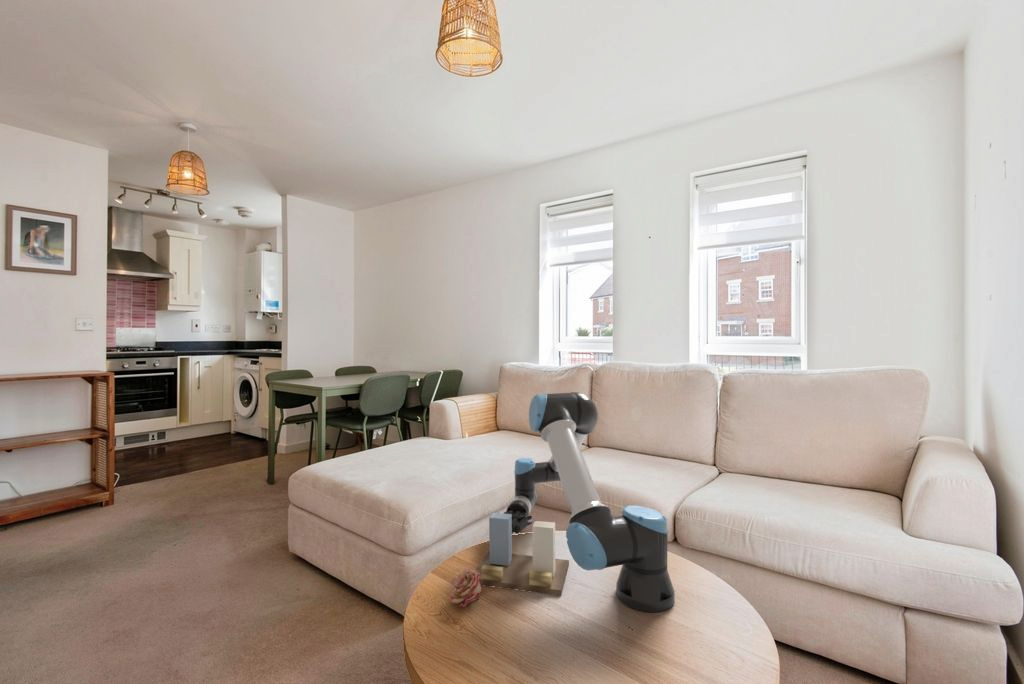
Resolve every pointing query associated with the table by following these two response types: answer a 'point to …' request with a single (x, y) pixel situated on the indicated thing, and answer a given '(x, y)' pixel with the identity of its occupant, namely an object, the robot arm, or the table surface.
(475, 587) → the flower
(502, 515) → the light blue tall block
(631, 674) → the table surface
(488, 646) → the table surface
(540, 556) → the key cream
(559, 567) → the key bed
